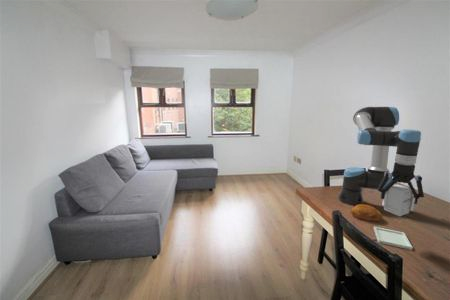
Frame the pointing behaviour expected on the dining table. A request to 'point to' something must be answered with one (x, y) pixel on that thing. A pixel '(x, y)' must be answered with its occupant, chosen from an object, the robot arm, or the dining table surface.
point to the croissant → (366, 212)
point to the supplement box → (398, 200)
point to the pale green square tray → (392, 238)
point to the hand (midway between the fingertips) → (396, 207)
